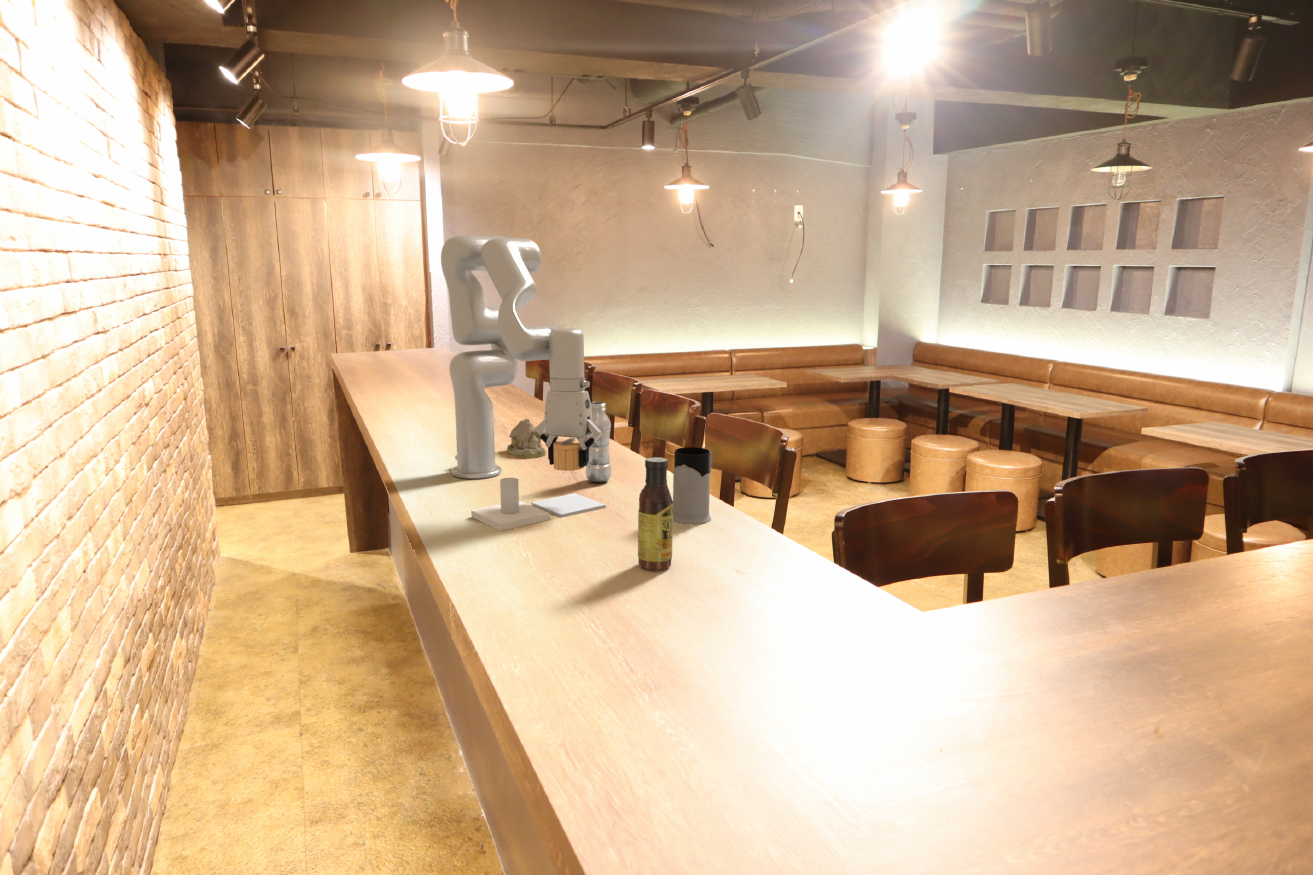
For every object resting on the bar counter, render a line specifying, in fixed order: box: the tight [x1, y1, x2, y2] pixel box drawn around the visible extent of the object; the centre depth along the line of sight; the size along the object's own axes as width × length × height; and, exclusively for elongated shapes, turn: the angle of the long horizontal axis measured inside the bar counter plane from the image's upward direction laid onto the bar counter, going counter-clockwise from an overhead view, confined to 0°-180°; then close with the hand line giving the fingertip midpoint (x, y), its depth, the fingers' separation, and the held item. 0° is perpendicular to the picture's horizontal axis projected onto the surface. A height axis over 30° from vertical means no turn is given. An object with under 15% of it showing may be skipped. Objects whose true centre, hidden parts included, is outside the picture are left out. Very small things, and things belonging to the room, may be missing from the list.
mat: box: [530, 492, 607, 518], centre depth 187 cm, size 12×12×1 cm
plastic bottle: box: [585, 401, 612, 483], centre depth 206 cm, size 6×7×20 cm
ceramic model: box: [506, 418, 547, 459], centre depth 238 cm, size 14×11×10 cm
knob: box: [553, 437, 584, 472], centre depth 184 cm, size 7×7×6 cm
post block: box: [470, 477, 550, 531], centre depth 177 cm, size 12×12×8 cm
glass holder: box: [672, 446, 713, 525], centre depth 180 cm, size 9×14×15 cm, turn 152°
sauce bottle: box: [637, 456, 674, 572], centre depth 149 cm, size 6×6×20 cm
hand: (568, 464), depth 185 cm, fingers closed on knob, 6 cm apart
